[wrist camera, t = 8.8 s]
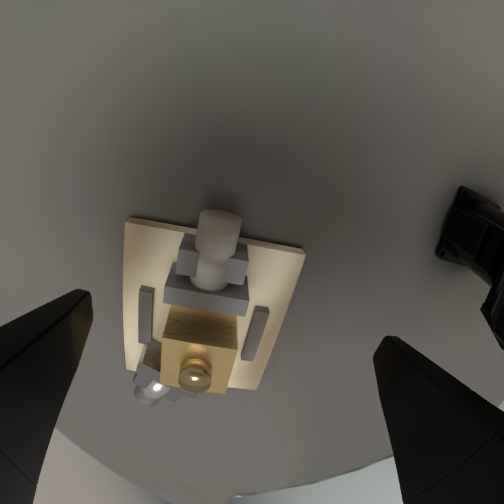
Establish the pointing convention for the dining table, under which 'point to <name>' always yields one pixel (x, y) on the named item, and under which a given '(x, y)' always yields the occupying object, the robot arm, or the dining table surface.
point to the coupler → (198, 350)
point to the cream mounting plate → (207, 285)
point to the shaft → (153, 378)
